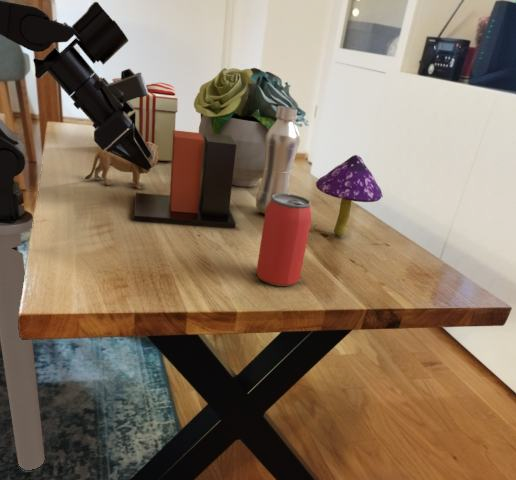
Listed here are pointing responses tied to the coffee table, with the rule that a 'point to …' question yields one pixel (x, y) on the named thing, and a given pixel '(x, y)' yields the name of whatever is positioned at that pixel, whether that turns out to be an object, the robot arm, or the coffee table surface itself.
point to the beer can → (284, 239)
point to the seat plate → (167, 216)
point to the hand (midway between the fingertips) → (149, 162)
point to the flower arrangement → (244, 115)
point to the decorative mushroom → (349, 187)
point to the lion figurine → (121, 165)
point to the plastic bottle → (278, 156)
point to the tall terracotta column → (186, 171)
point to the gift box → (156, 117)
